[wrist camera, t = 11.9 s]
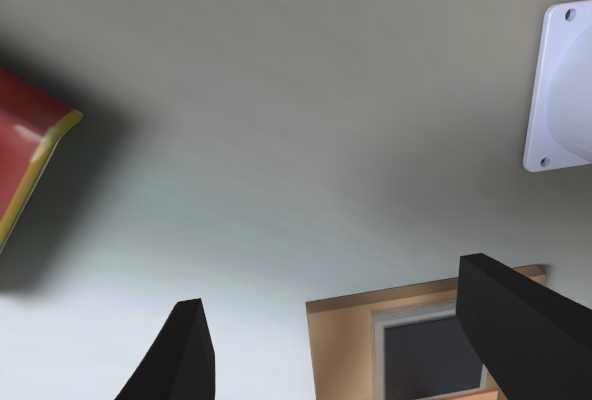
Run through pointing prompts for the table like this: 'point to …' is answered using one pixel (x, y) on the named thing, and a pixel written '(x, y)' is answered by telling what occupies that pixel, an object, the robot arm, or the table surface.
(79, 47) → the table surface
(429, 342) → the ink pad
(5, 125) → the hardcover book
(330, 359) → the board
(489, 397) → the square coaster
